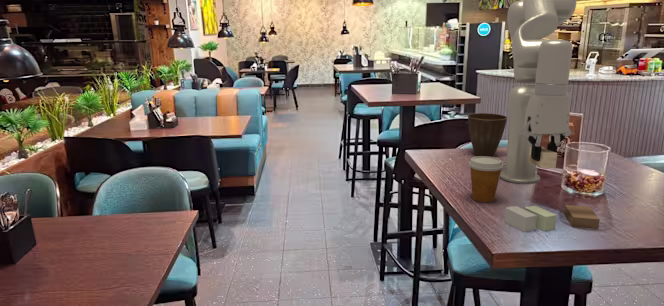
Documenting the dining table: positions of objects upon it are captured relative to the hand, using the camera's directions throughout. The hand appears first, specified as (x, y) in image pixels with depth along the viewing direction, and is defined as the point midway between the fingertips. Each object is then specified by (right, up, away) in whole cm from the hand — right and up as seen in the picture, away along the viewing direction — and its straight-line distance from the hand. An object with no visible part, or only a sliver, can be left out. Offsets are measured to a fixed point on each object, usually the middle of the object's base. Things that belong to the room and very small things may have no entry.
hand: (543, 159), depth 118 cm
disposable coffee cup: (-11, -12, +15) cm, 22 cm away
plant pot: (+6, +1, +64) cm, 65 cm away
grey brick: (-8, -17, -4) cm, 19 cm away
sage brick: (-3, -17, -4) cm, 18 cm away
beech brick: (0, -2, +1) cm, 2 cm away
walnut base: (+9, -17, -2) cm, 19 cm away
